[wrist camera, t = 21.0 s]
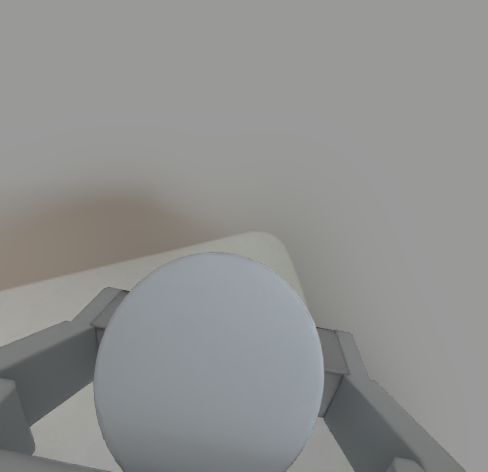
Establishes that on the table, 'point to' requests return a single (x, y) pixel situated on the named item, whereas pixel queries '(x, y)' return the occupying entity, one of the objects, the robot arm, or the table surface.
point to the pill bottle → (209, 370)
